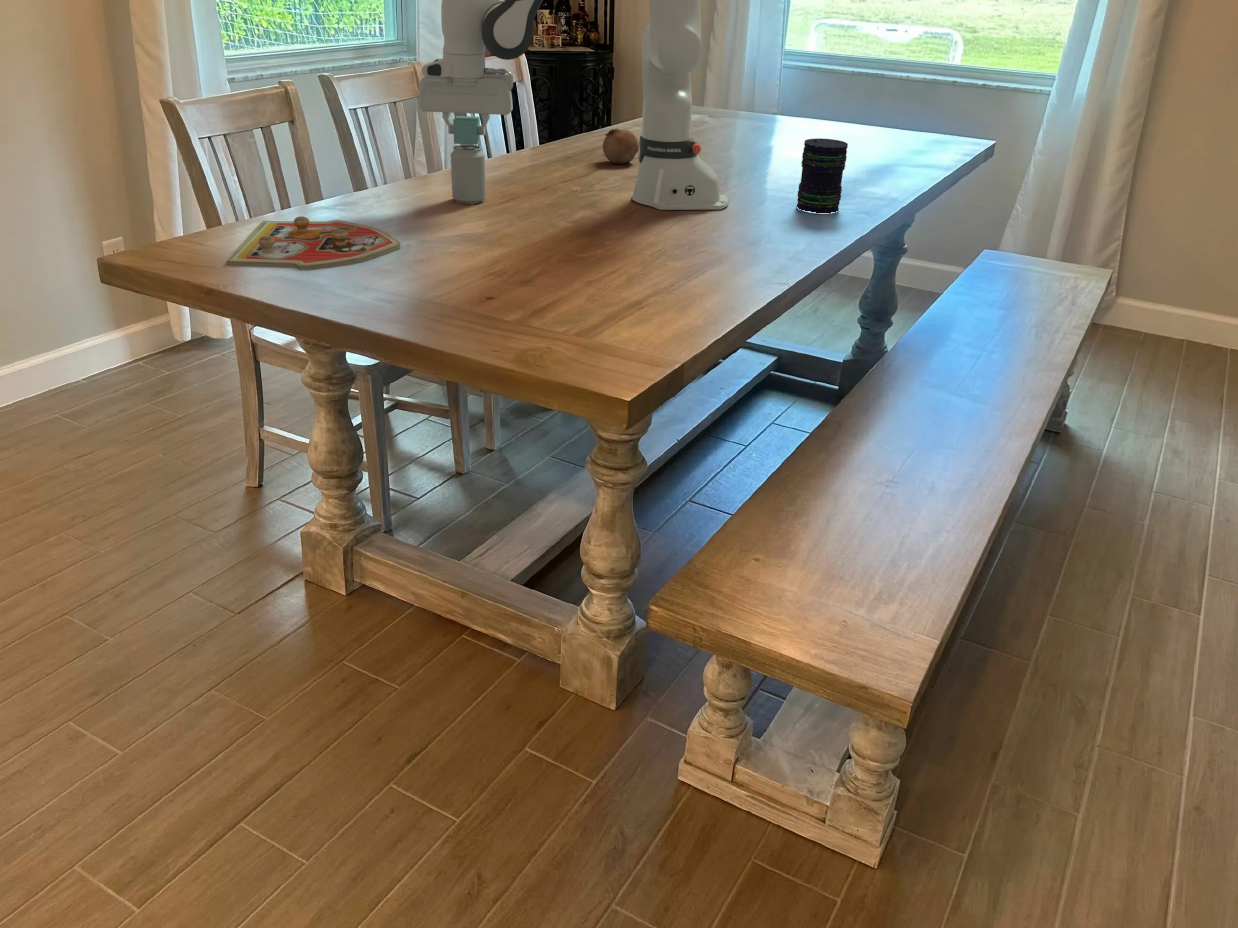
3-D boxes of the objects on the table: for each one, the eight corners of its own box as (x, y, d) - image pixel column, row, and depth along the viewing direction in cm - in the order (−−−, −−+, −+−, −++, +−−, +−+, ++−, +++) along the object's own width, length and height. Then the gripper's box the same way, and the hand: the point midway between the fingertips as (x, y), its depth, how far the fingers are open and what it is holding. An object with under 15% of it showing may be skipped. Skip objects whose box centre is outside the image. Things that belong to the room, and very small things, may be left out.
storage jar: (847, 210, 231) (857, 143, 224) (823, 217, 225) (833, 149, 217) (811, 201, 237) (819, 136, 230) (787, 208, 231) (795, 141, 223)
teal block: (480, 140, 222) (479, 116, 220) (476, 144, 218) (476, 120, 215) (457, 139, 222) (457, 115, 220) (454, 143, 218) (452, 120, 215)
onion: (608, 176, 266) (593, 142, 260) (614, 159, 272) (600, 125, 266) (641, 166, 262) (626, 131, 256) (646, 149, 269) (632, 115, 263)
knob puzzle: (263, 226, 204) (260, 205, 202) (409, 229, 206) (408, 207, 204) (223, 271, 179) (220, 247, 177) (390, 274, 181) (388, 250, 179)
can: (479, 206, 222) (477, 151, 217) (447, 203, 224) (445, 148, 218) (490, 198, 229) (488, 144, 223) (459, 195, 230) (456, 141, 224)
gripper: (514, 67, 215) (515, 133, 222) (420, 63, 215) (424, 129, 222) (511, 71, 210) (512, 138, 216) (414, 67, 210) (418, 135, 217)
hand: (467, 134), depth 219 cm, fingers closed on teal block, 5 cm apart
